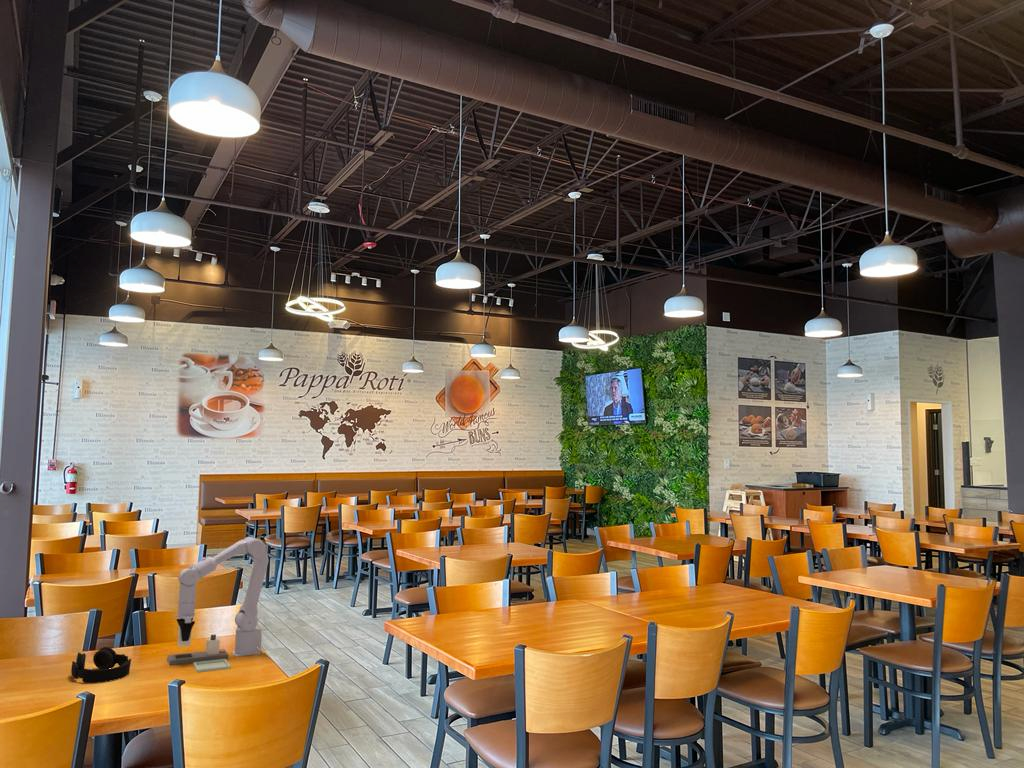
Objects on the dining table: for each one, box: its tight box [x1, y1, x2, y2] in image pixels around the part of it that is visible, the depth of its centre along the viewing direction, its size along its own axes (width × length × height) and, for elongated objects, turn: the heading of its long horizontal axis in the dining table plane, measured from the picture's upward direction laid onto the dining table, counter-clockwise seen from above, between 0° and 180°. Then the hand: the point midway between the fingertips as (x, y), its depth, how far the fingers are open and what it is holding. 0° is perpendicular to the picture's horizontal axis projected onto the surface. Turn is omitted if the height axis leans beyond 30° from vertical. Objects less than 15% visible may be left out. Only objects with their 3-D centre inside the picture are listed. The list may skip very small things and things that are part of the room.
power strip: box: [167, 634, 229, 666], centre depth 277 cm, size 20×9×9 cm, turn 120°
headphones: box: [70, 646, 132, 684], centre depth 256 cm, size 18×8×20 cm
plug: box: [177, 625, 192, 647], centre depth 275 cm, size 4×4×9 cm
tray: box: [192, 659, 232, 673], centre depth 267 cm, size 11×11×1 cm
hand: (184, 639), depth 275 cm, fingers closed on plug, 4 cm apart
